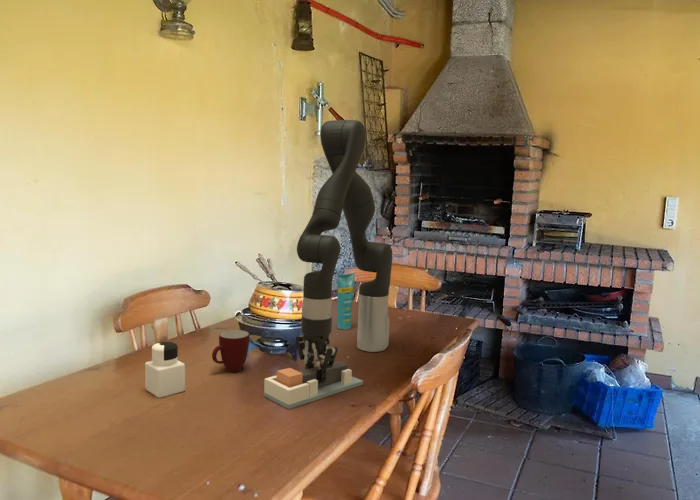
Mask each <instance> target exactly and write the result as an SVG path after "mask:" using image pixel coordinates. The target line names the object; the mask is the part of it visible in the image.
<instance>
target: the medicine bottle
mask: <svg viewBox="0 0 700 500" xmlns="http://www.w3.org/2000/svg"><path fill="white" fill-rule="evenodd" d="M178 349H179V348H178V345H177V343H175V342H173V341H159V342H157V343H155V344H153V345H152V346H151V360H149V361H146V362H144V373H145V374H144V375H145V376H144V379H145V381H144V382H145V384H144V385H145V390H146V391H148V392H149V393H150V394H152V395H153V396H155V397H157V398H158V399H159V398H160V399H161V398H164V397H169V396H171V395H175V394H179V393H182V392H185V391H186V365H185V364H186V363H184V362H182V361H180V360H178V359H179V357H178V355H179V354H178V353H179V352H178V351H179V350H178Z"/></svg>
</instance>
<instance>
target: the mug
mask: <svg viewBox="0 0 700 500" xmlns="http://www.w3.org/2000/svg"><path fill="white" fill-rule="evenodd" d="M249 346H250V333H249V332H248V331H246V330H241V329H230V330H223V331H222V332H220V333H219V335H218V345H217V346H216V347H215V348H213V350H212V354H211V356H212V361H213V362H214V363H216V364H217V365H218V364H219V365H224V367H225V369H226V370H227V372H232V373H233V372H234V373H235V372H240V371H241V370H242V369H243V367H244V365H245V363H246V360H247V357H248V351H249ZM219 351H220V356H221V360H218V358H217V355H218V352H219Z"/></svg>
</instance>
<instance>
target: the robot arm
mask: <svg viewBox="0 0 700 500" xmlns="http://www.w3.org/2000/svg"><path fill="white" fill-rule="evenodd" d="M319 136H320V142H321V147H322V150H323V152H324V157H325V159H326V161H327V162H328V163H327V164H328V166H329V168H330V170H331V173H332V174H331V175H330V176H329V177H328V179H327V180H326V181H325V182H324V183H323V185H321V187H320V189H319V190H318V193H317V196H316V199H315V203H314V207H313V211H312V213H311V214H312V215H311V217H310V219H309V221H308V222H307V225H306V227H305V228H304V230H303V231H302V233H301V235H300V237H299V239H298V241H297V245H296V254H297V256H298V258H299V259H300V261H302V262H305V263H310V264H321V269H320V270H319V271H310V272H307V273H306V274H305V275H304V277H303V288H302V289H303V292H302V293H303V296H302V297H303V298H302V304H301V333H302V334H303V335H298V336H296V337H295V341H296V347H297V352H298V353H297V354H298V357H299V360H300V361H303V363H304V364H305V365H304V369H308V368H313V367H315V363H314V362H315V361H316V367H317V368H318V369H317V380H318V383H319V384H321V383H324V382H325V380H326V369H327V368H331V367H332V366H333V363H334V362H335V360H336V357H337V353H338V347H337V346H334V347H333V346H332V344H331V342H330V334H331V333H332V331H333V329H332V326H333V325H332V324H333V301H332V300H333V299H332V298H333V297H332V294H333V291H332V290H333V279H334V276H335V275H334V274H335V270H336V268H337V264H338V261H339V258H340V254H341V244H340V241H339V239H338V238H337V237H336V236H334V235H329V234H328V235H325V234H323V233H325V232H327V231H332V230H336V229H337V228H338V227H339V225H340V223H341V217H342V213H343V215H344V217H345V222H346V224H347V229H348V232H349V237H350V242H351V247H352V253H353V258H354V262H355V266H356V267H357V269H358V270H360V271H362V272H366V273H367V272H368V273H375V278H374V279H373V280H370V281H365V282H363V283H360V285H359V287H358V309H357V310H358V311H357V332H356V333H357V336H356V337H357V338H356V348H357V349H358V350H360V351H364V352H372V353H374V352H375V353H376V352H382V351H385V350H386V349H387V348H388V347H389V343H390V342H389V339H390V317H389V315H388V313H389V298H390V297H389V294H390V285H391V279H392V278H391V277H392V275H391V274H392V265H393V249H392V246H391V245H390V244H389V243H383V242H377V241H376V242H375V241H369V240H368V237H367V235H366V234H367V233H366V232H367V230H368V227H369V225H370V224H371V222H372V220H373V218H374V216H375V212H376V205H375V201H374V196H373V193H372V189H371V187H370V185H369V184H368V183H367V182H366V181H365V180H364V178H363V177H362V176H361V175H360V174H359V173H358V172H357V168H358V166H359V163H360V161H361V158H362V156H363V153H364V149H365V146H366V141H367V140H366V139H367V133H366V128H365V126H364V124H363V122H362V121H360V120H357V119H347V120H346V119H337V120H327V121H325V122H324V123H323V124H322V125H321V127H320V135H319ZM303 350H304V351H303ZM328 362H329V363H328Z"/></svg>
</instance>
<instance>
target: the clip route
mask: <svg viewBox="0 0 700 500" xmlns="http://www.w3.org/2000/svg"><path fill="white" fill-rule="evenodd" d="M328 363H329V362H328ZM352 371H353V370H352V369H350V368H348V369H346V370H343V371H342V372H341V381H340V382H336V383H332V384H329V385H325V386H321V387H318V380H316V379H313V380H310V381H307V383H304V384H301V385H297V386H294V387H291V388H289V387H287V386H285V385H283V384H281V383H279V382H277V381H276V379H277V374H276V375H272V376H269V377H266V378H264V381H263V382H264V383H263V384H264V385H263V386H264V390H263V397H265V398H266V399H268V400H271V401H272V402H274V403H276V404H278V405H280V406H281V407H284V408H285V409H287V410H292V409H294V408H297V407H299V406H303V405H305V404H309V403H311V402H314V401H318V400H320V399H324V398H326V397H330V396H333V395H335V394H339V393H341V392H345V391H347V390H351V389H354V388H357V387H359V386H362V385H364V380H362V379H360V378H357V377H354V376H352V375H353V373H352Z"/></svg>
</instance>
